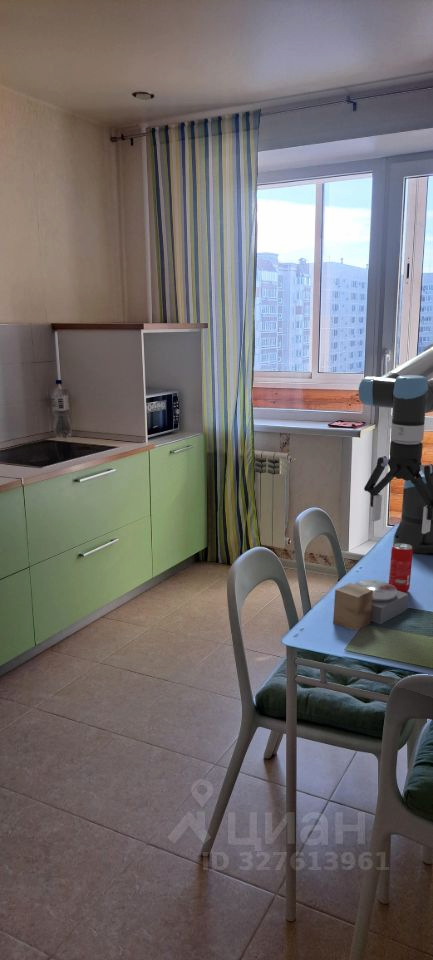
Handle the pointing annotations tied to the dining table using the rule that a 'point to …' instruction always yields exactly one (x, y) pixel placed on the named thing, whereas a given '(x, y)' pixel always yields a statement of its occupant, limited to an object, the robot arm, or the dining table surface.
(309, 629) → the dining table surface
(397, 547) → the beverage can
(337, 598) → the walnut block
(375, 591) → the scale pan
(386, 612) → the scale base
